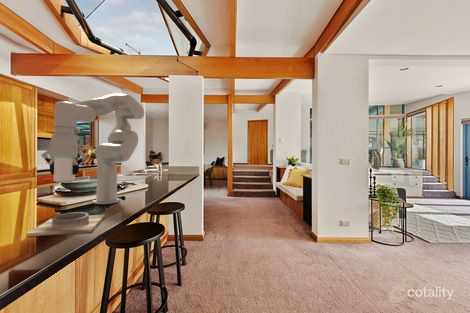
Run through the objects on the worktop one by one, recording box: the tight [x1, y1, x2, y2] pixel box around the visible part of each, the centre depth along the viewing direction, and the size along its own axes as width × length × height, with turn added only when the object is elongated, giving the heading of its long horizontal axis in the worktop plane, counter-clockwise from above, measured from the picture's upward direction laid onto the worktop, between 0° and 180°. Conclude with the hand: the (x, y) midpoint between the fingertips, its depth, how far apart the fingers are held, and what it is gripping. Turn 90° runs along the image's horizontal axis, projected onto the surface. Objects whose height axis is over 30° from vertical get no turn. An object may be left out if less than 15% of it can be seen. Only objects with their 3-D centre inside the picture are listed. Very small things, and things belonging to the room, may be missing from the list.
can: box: [53, 153, 76, 184], centre depth 93 cm, size 7×7×12 cm
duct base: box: [26, 211, 106, 237], centre depth 82 cm, size 18×18×4 cm
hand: (64, 173), depth 93 cm, fingers closed on can, 7 cm apart
